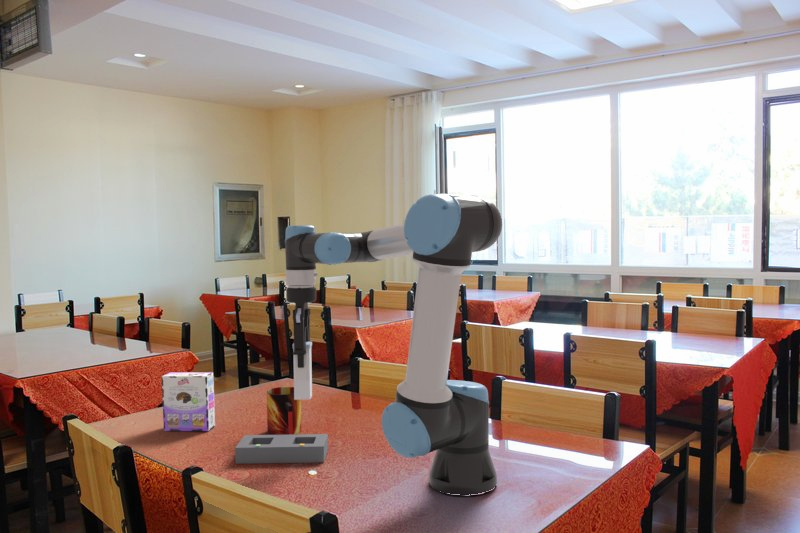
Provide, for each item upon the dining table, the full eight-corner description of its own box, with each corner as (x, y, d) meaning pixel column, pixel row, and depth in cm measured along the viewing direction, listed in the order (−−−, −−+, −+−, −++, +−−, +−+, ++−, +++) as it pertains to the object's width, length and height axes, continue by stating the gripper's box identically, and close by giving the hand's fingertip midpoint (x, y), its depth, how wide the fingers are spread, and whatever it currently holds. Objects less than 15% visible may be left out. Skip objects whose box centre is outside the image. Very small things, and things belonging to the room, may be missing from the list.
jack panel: (324, 462, 158) (323, 445, 158) (235, 463, 158) (235, 446, 158) (328, 448, 168) (327, 432, 168) (244, 450, 168) (244, 434, 168)
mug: (290, 442, 174) (289, 399, 174) (260, 432, 184) (259, 391, 183) (317, 434, 181) (316, 392, 181) (287, 424, 191) (286, 385, 190)
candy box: (216, 426, 190) (214, 371, 190) (208, 432, 184) (206, 375, 184) (171, 425, 192) (170, 371, 191) (162, 431, 186) (160, 375, 185)
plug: (310, 399, 161) (309, 344, 160) (293, 399, 160) (292, 344, 160) (313, 395, 165) (312, 341, 164) (296, 395, 165) (295, 341, 164)
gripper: (311, 289, 153) (313, 385, 154) (320, 283, 170) (321, 370, 171) (280, 289, 153) (282, 385, 154) (291, 283, 170) (293, 370, 171)
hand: (302, 377), depth 162 cm, fingers closed on plug, 4 cm apart
